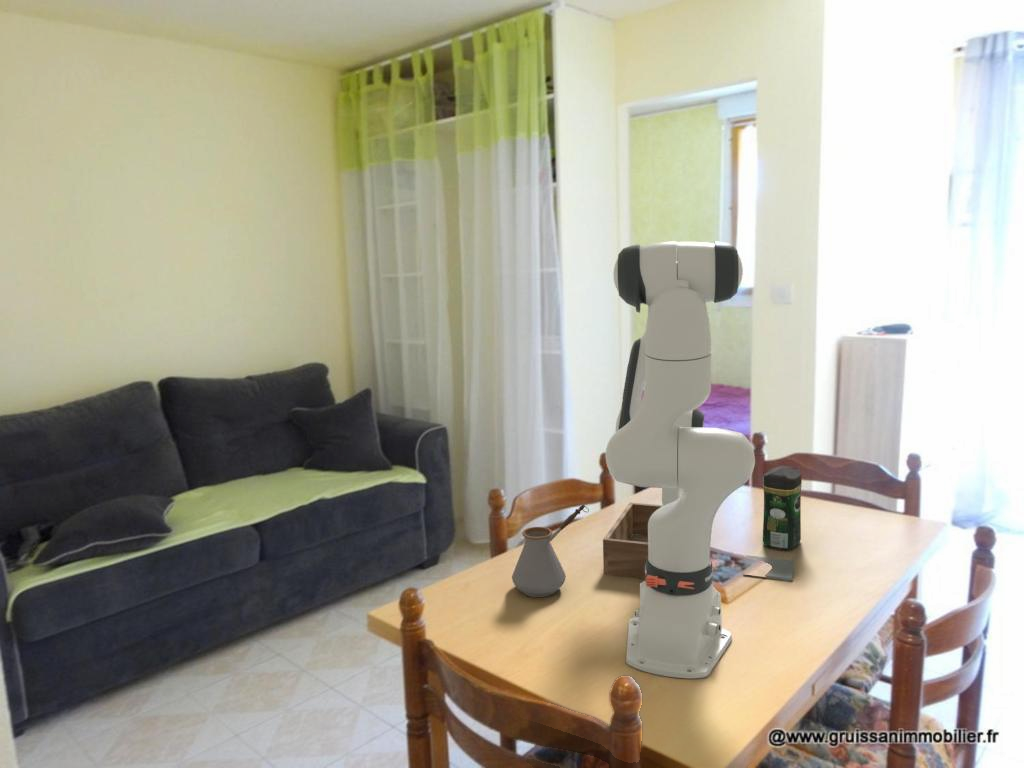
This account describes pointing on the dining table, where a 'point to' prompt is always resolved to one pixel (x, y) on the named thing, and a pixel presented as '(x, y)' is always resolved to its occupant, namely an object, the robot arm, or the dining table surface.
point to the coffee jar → (782, 508)
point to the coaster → (777, 568)
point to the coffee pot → (540, 561)
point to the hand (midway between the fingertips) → (677, 513)
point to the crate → (628, 542)
